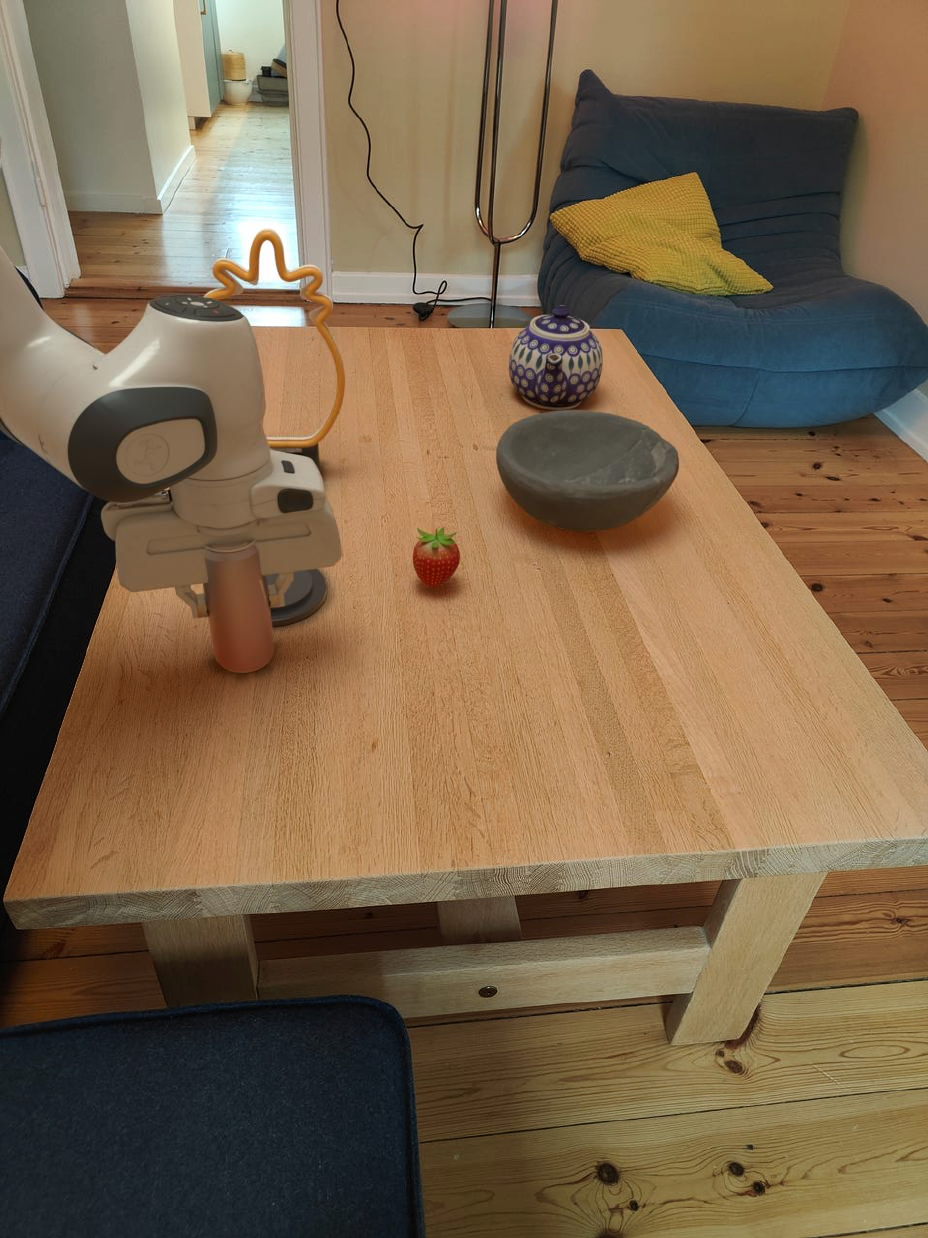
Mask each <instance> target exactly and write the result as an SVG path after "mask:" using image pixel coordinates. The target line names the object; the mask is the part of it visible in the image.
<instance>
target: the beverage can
mask: <svg viewBox="0 0 928 1238" xmlns="http://www.w3.org/2000/svg"><path fill="white" fill-rule="evenodd" d="M256 541H257V539H254V540H253V541H252V542H250V543H249V542H248V541H245V542H235V543H226V544H218V545H212V547H213V548H211V547H209V546H207V545H204V546H203V547H204V548H206V549H207V551H206V554H205V557H204V558H205V563H206V569H207V575H208V583H202V588H203V594H204V595H205V601H206V603H207V609H208V610H207V611H208V615H209V617H207V618H208V625H209V630H210V631H209V632H210V636H211V642H212V648H213V655H214V659H215V661H216V662H217V664H219V665H220V666H221V667H222V668H223V669H224V670H227V671H228V672H232V673H236V674H247V673H253V672H255V671H259V670H261V669H262V668H264V667H265V666H267V665H268V663H270V661H271V659H272V658H273V656H274V654H275V650H276V649H275V640H274V630H273V627H272V620H271V610H270V605H269V596H268V594H269V592H268V583H267V575H264V576H262V574H261V569H260V559H259V550H258V549H257V548H256V546H255V544H254V543H255V542H256ZM247 543H249V544H247Z"/></svg>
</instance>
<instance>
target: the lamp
mask: <svg viewBox="0 0 928 1238" xmlns="http://www.w3.org/2000/svg"><path fill="white" fill-rule="evenodd" d="M266 241H268V242H270V243H271V245H272V248H273V254H274V261H275V268H276V271H277V274H278V277H279V278H280V279H281V280H282V281H283V282H285V283H294V282H298V281H300V280H302V279H304V278H308V277H313V279H312V280H310V282H308V283H307V284H305V285H304V286H303V287H302V288H301V289H300V291H299V297H300V298H301V299H302V300H304V301H305V300H306V301H309V302H312V303H314V304H319V305H320V306H318V307H317V308H315V309H312V310H310V311H309V313H308V318H309V320H311V322H312V323H313V325H315V328H316V329H317V331H318V332H319V334H320V335H321V337H322V338H323V340H324V342H325V344H326V345H327V347H328V349H329V351H330V354H331V357H332V359H333V363H334V366H335V371H336V372H335V373H336V392H335V397H334V400H333V403H332V405H331V408H330V410H329V412H328V414H327V416H326V418H325V420H324V421H323V423H322V424H321V426H320V427H319V428H318V429H317V430H316V431H315V433H313V434H311V435H309V436H266V438H267V441H268V443H269V446H270V450H275V451H279V452H284V453H290V454H295V455H300V456H305V457H309V458H311V459H312V460H313V461H314V463H315V464H316V466H317V468H318V470H319V471H320V464H321V463H320V448H319V443H320V442H321V441H323V440H324V439H325V437H326V436H327V435H328V434H329V432H330V431H331V429H332V428H333V426H334V424H335V423H336V420H337V418H338V416H339V414H340V411H341V408H342V405H343V403H344V397H345V389H346V373H345V366H344V365H345V364H344V360H343V356H342V353H341V350H340V348H339V345H338V343H337V340H336V339H335V336H334V334H333V332H332V331H331V329H330V327H329V326H328V324H327V323H326V322H325V321H326V320H327V319H328V318H329V316H330V314H331V313H332V311H333V309H334V301H333V300H332V298H331V297H330V296H329V295H328V294H326V293H323V292H320V291H318V290H319V289H320V288H321V286H322V284H323V282H324V275H323V271H322V269H321V268H320V267H318V266H317V265H314V264H303V265H300V266H299V267H296V268H294V269H290V270H289V269H288V268H287V265H286V260H285V259H286V258H285V250H284V244H283V241H282V239H281V236H280V235H279V234H278V232H276V230H275V229H273V228H263V229H261V230H259V231H258V232H257V233H256V235H255V236H254V238H253V240H252V243H251V246H250V248H249V249H250V250H249V259H248V268H246V267H244V266H242V265H241V264H239V263H238V262H236V261H235V260H233V259H231V258H227V257H220V258H217V260H215V262H214V264H213V265H212V275H213V277H214V278H215V279H216V281H217V282H219V283H220V284H222V285H223V287H217V288H215V289H212V290H210V291H207V293H205V294H204V296H203V297H206V298H212V299H215V300H218V301H220V300H224V299H228V298H231V297H233V296H237V295H241V294H242V293H243V292H244V289H245V288H244V287H243V285H242V284H241V283H240V282H239V281H238V280H237V279H236V278H235V277H237V278H238V279H239V280H241V281H243V282H246V283H249V284H250V285H251V286H258V284H259V279H260V258H261V249H262V246H263V244H264V243H265V242H266ZM231 274H232V275H231ZM233 275H234V276H233Z"/></svg>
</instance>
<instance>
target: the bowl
mask: <svg viewBox="0 0 928 1238" xmlns="http://www.w3.org/2000/svg"><path fill="white" fill-rule="evenodd" d="M495 462H496V468H497V471H498V474H499V477H500V480H501V482H502V484H503V486H504V488H505V490H506V492H507V493H508V495H509V496H510V498H511V499H512V500H513V501H514V502H515V503H516V504H517V505H518V506H519V507H520V508H521V509H522V510H523V511H524V513H526V514H527V515H528V516H530V517H532V518H533V519H534V520H537V521H539V522H541V523H543V524H545V525H548V526H550V527H553V528H556V529H562V530H567V531H571V532H572V531H573V532H587V533H588V532H600V531H606V530H607V531H608V530H612V529H616V528H620V527H623V526H625V525H627V524H630V523H631V522H634V521H636V520H638V519H639V518H640V517H642V516H643V515H645V514H646V513H647V512H649V510H651V509H652V508H653V507H654V506H655V505H656V504H658V503H659V501H660V500H661V499H662V498H663V497H664V496H665V494H666V493H667V492H668V491H669V489H670V488H671V487H672V484H673V483H674V482H675V479H676V478H677V476H678V474H679V473H678V472H679V470H680V458H679V452H678V450H677V449H676V447H675V446H674V445H673V444H672V443H671V442H669V441H668V440H666V439H665V438H664V437H662V436H661V435H660V433H658V432H657V431H655V430H654V429H653V428H651V427H650V426H649V425H647V424H644V423H642V422H639V421H637V420H634V419H631V418H628V417H624V416H621V415H619V414H618V415H617V414H613V413H608V412H603V411H595V410H587V409H585V410H584V409H581V410H579V409H566V410H552V411H547V412H541V413H536V414H532V415H530V416H526V417H523V418H522V419H519V420H516V421H515V422H513V423H512V424H511V425H509V427H508V428H507V429H505V431H504V432H503V433H502V435H501V437H500V439H499V440H498V442H497V446H496V451H495Z"/></svg>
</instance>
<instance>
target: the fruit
mask: <svg viewBox="0 0 928 1238" xmlns="http://www.w3.org/2000/svg"><path fill="white" fill-rule="evenodd" d="M417 532H418V534H419V535H420V536H421V537H418V536H415V537H416V539H418V541H417V542H416V544H415V545H414V547H413V551H412V565H413V569H414V571H415V573H416V576H417V578H418V579H419V580H420V582H421V583H422V584H423V585H424V586H426V587H427V588H431V589H433V588H435V589H436V588H438V587H440V586H442V585H444V584H445V583H446V582H448V580H450V579H451V578H452V576H453V575H454V574H455V573H456V571H457V569H458V567H459V565H460V561H461V552H460V549H459V546H458V544H457V543H456V542H455V540H454V539H453V537H455V535H456V534H457V533H458V532H453V533H452V534H448V535H447V534H445V526H443V527H441V528H440V529H439V530H438V527H437V528H436V529H435V532H432V533H428V532H426V531H423V530H421V529H420V528H419V527H417Z"/></svg>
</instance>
